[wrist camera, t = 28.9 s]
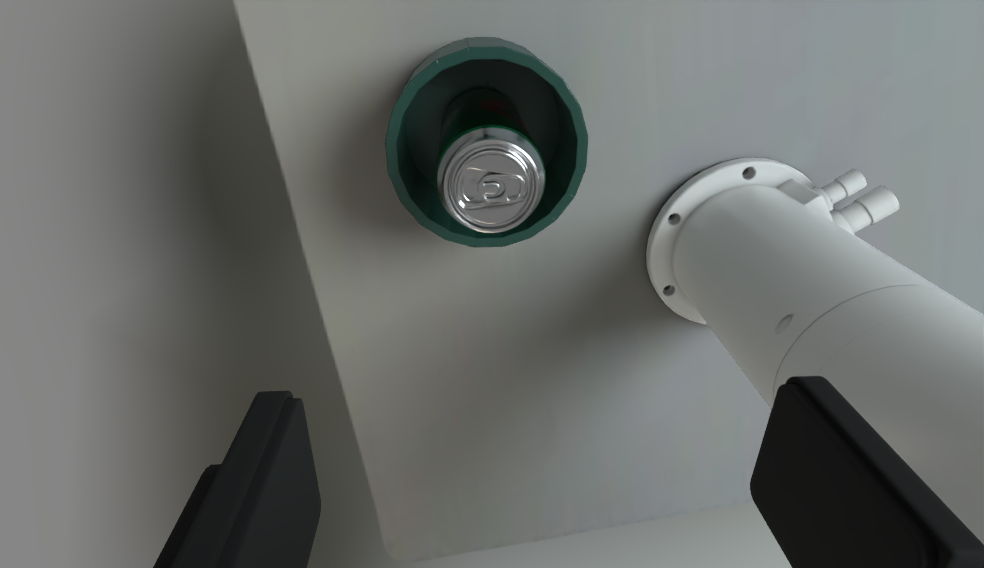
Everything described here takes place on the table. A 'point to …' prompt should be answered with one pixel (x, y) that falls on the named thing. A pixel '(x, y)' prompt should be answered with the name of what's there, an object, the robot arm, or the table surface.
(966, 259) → the table surface
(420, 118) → the green round container
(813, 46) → the table surface
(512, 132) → the soda can
